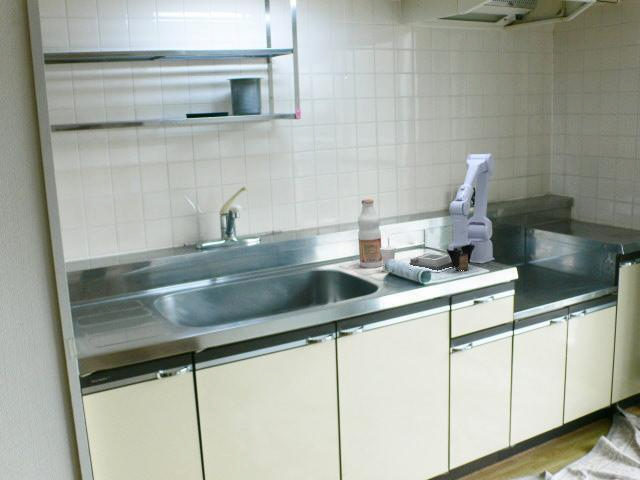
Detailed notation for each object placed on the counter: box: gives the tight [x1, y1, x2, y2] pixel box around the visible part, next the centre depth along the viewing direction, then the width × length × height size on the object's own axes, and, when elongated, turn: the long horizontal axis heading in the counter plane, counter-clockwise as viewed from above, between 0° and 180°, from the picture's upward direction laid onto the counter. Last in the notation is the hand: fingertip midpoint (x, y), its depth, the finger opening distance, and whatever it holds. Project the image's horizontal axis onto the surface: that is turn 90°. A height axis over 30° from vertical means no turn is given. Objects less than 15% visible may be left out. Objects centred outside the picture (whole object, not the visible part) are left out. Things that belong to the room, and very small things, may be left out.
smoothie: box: [380, 236, 397, 273], centre depth 276 cm, size 6×6×14 cm
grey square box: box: [408, 252, 454, 271], centre depth 278 cm, size 14×14×4 cm
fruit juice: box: [357, 199, 383, 269], centre depth 287 cm, size 9×9×28 cm
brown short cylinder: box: [454, 252, 469, 272], centre depth 271 cm, size 5×5×6 cm
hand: (461, 264), depth 271 cm, fingers open, 7 cm apart
